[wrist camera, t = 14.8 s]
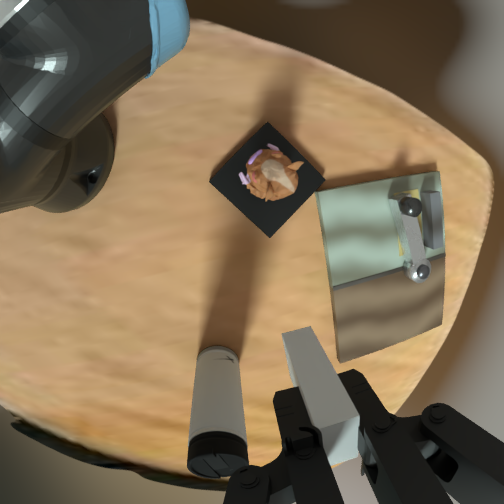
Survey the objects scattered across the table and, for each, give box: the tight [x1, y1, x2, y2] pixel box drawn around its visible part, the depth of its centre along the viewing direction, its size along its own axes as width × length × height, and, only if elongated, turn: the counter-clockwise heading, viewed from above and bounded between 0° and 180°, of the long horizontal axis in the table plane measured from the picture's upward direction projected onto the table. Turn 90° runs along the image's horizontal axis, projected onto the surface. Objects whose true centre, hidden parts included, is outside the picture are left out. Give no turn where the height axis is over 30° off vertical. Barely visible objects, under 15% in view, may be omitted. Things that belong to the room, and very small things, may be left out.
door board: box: [315, 171, 445, 363], centre depth 39 cm, size 26×20×4 cm
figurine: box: [209, 122, 325, 238], centre depth 31 cm, size 10×10×12 cm
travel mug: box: [187, 346, 249, 479], centre depth 33 cm, size 6×7×20 cm
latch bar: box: [388, 192, 431, 283], centre depth 36 cm, size 13×4×4 cm, turn 24°
